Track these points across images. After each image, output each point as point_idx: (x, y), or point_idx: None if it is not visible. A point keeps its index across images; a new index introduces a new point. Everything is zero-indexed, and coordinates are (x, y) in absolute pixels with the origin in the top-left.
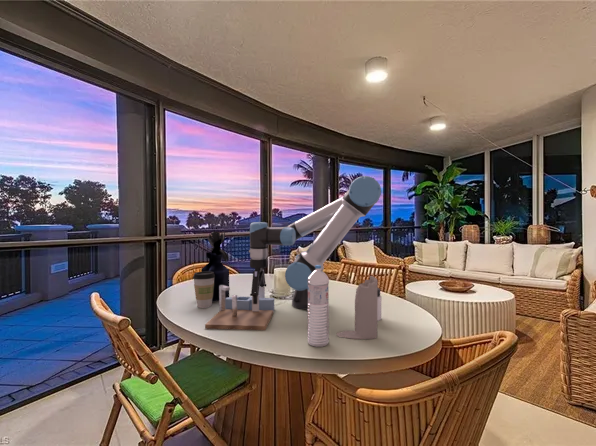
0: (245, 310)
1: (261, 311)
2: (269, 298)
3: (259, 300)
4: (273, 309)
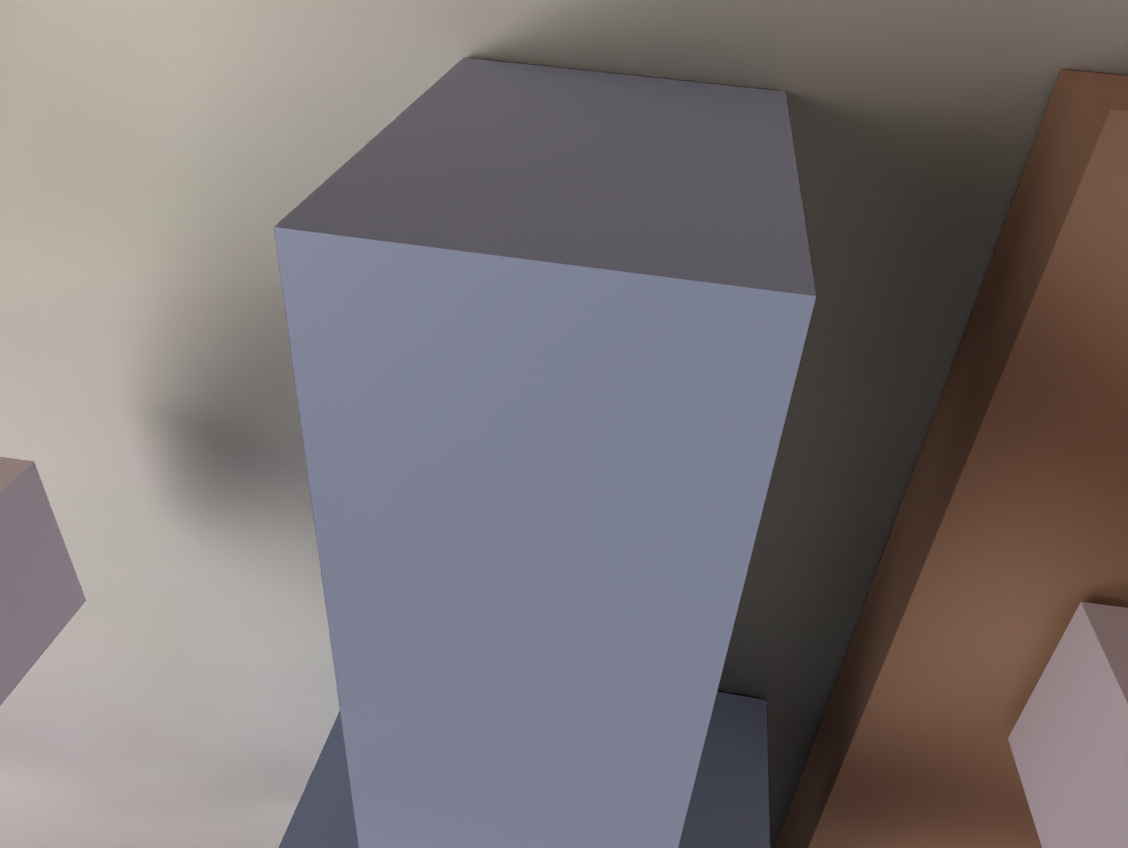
0: (885, 837)
1: (1122, 530)
2: (414, 479)
3: (688, 794)
4: (696, 100)
